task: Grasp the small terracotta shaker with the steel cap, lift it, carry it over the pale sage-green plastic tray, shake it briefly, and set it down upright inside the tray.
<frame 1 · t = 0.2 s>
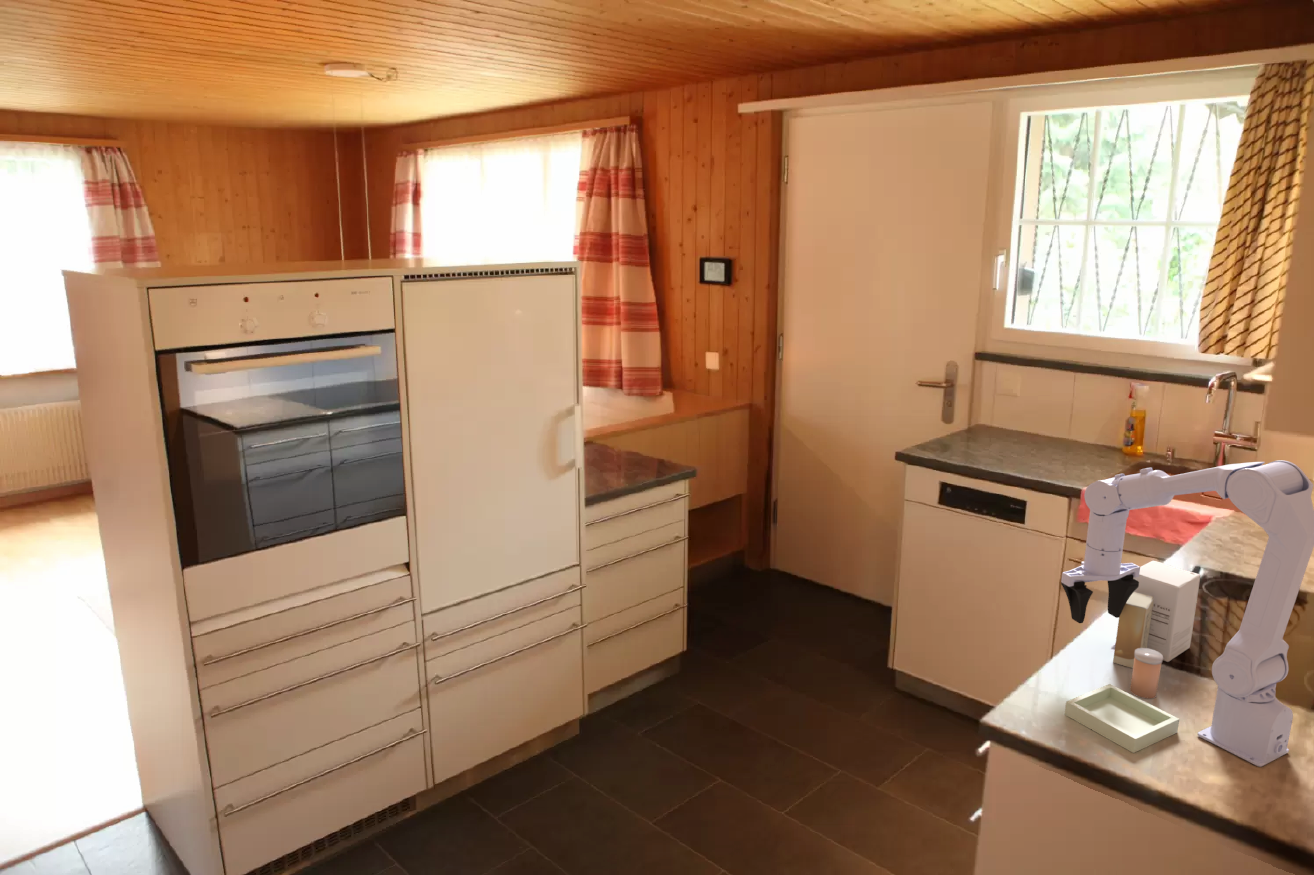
hand: (1095, 617, 157), 10 cm above the worktop, tool pointing down, fingers open, 7 cm apart
skincare box: (1128, 661, 162), on the worktop
supplement box: (1154, 647, 167), on the worktop
shaker: (1143, 692, 151), on the worktop
tray: (1120, 723, 143), on the worktop
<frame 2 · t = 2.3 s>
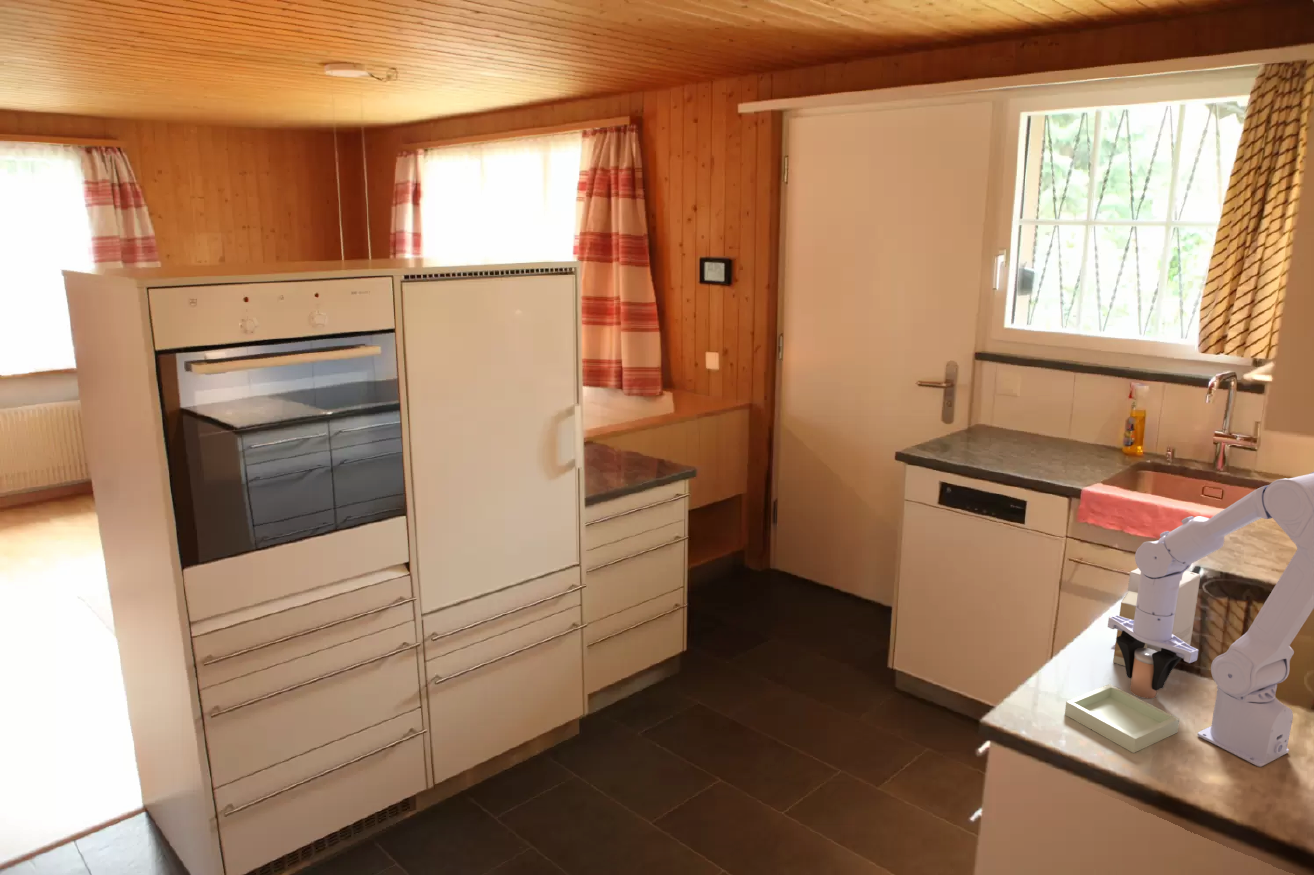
hand: (1144, 682, 151), 2 cm above the worktop, tool pointing down, fingers closed on shaker, 4 cm apart
shaker: (1143, 692, 151), on the worktop, touching gripper
everything else where it was.
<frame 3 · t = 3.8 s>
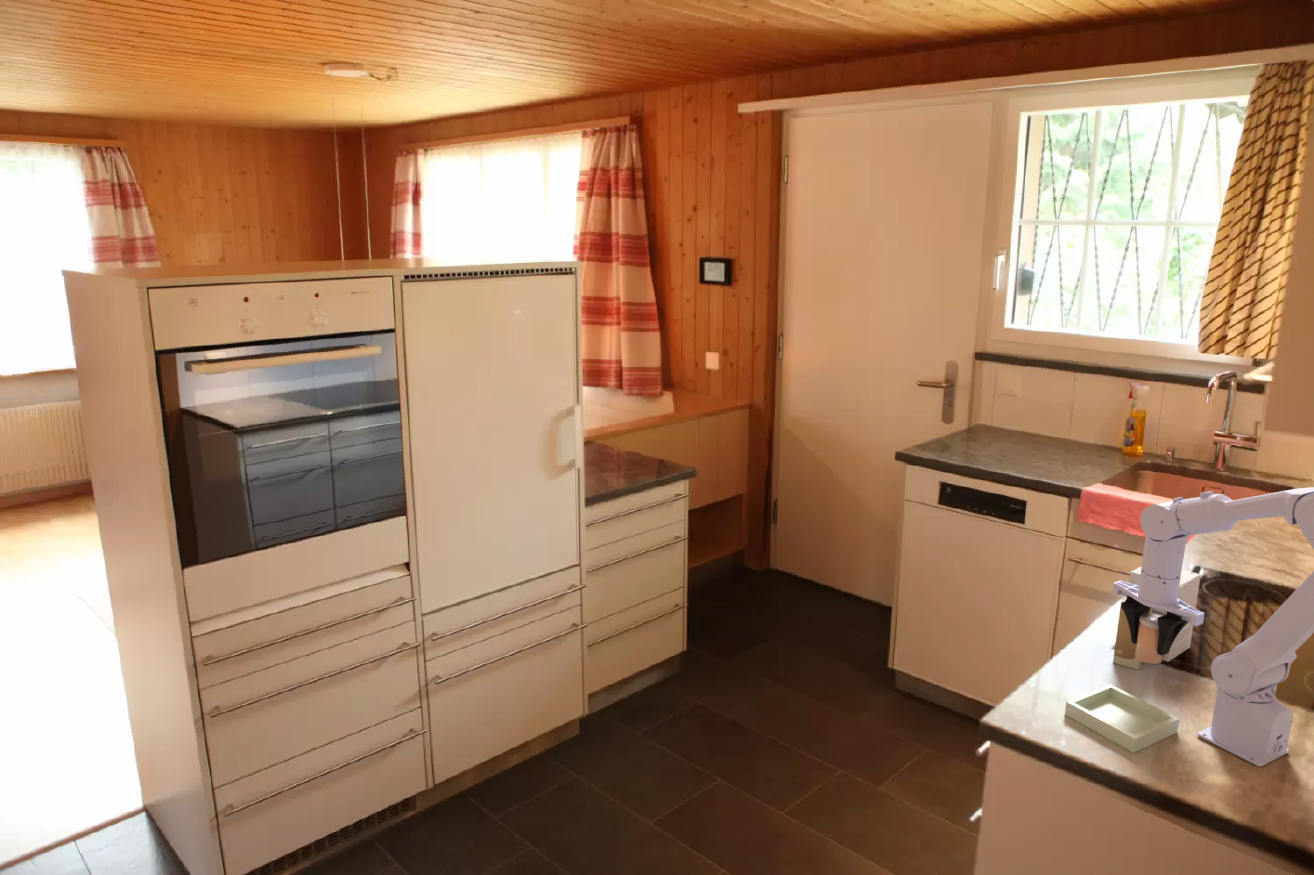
hand: (1149, 647, 149), 8 cm above the worktop, tool pointing down, fingers closed on shaker, 4 cm apart
shaker: (1148, 658, 150), point 6 cm above the worktop, touching gripper
everything else where it was.
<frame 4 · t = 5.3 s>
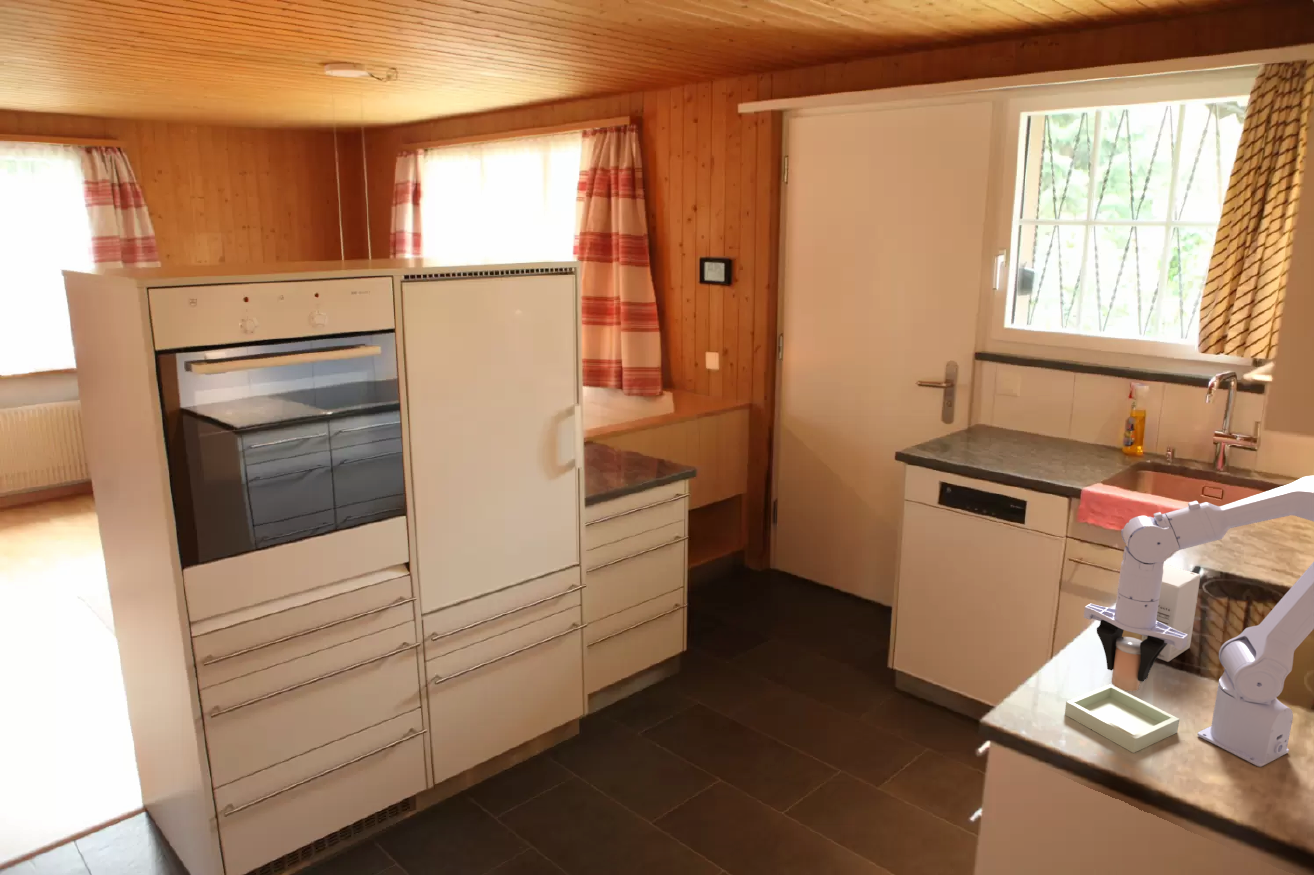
hand: (1127, 673, 140), 9 cm above the worktop, tool pointing down, fingers closed on shaker, 4 cm apart
shaker: (1125, 684, 141), point 7 cm above the worktop, touching gripper
everything else where it was.
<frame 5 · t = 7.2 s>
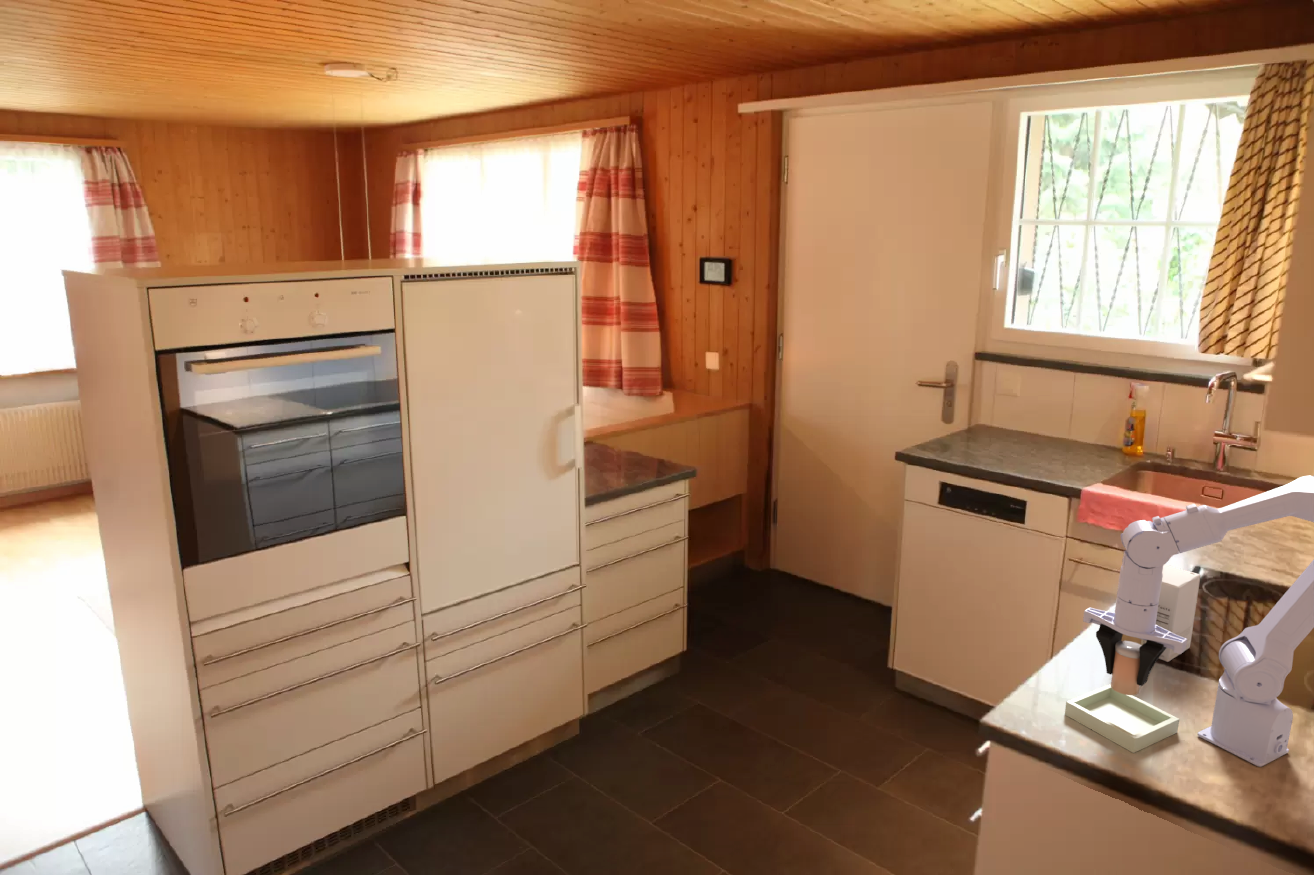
hand: (1126, 677, 140), 8 cm above the worktop, tool pointing down, fingers closed on shaker, 4 cm apart
shaker: (1124, 688, 141), point 6 cm above the worktop, touching gripper
everything else where it was.
when the fingers open (4 cm above the worktop, at t = 8.6 s): shaker stays where it is, resting on tray.
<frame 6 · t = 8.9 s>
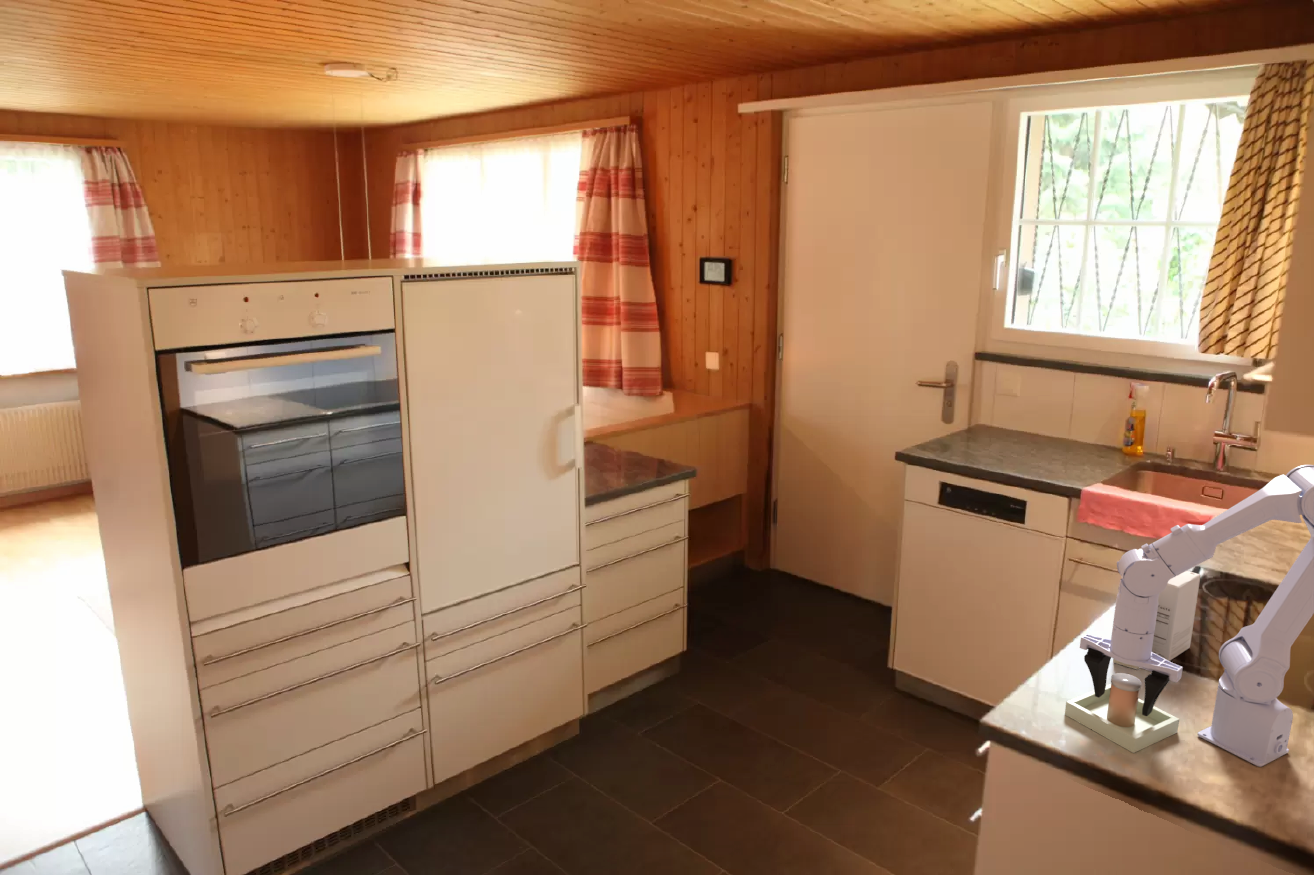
hand: (1122, 703, 142), 4 cm above the worktop, tool pointing down, fingers open, 7 cm apart
shaker: (1120, 720, 142), point 1 cm above the worktop, touching tray
everything else where it was.
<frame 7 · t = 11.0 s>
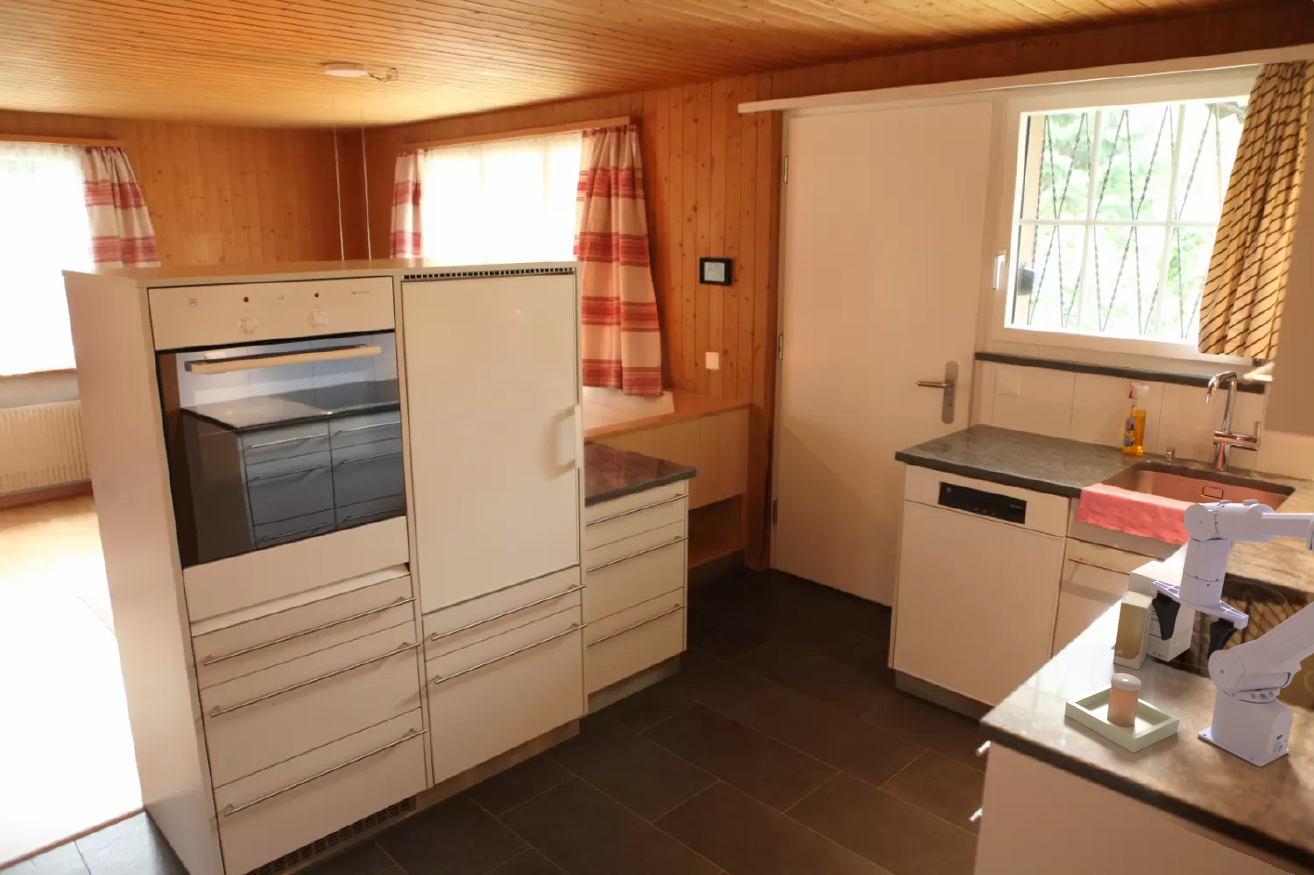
hand: (1188, 648, 147), 9 cm above the worktop, tool pointing down, fingers open, 7 cm apart
nothing on the worktop moved.
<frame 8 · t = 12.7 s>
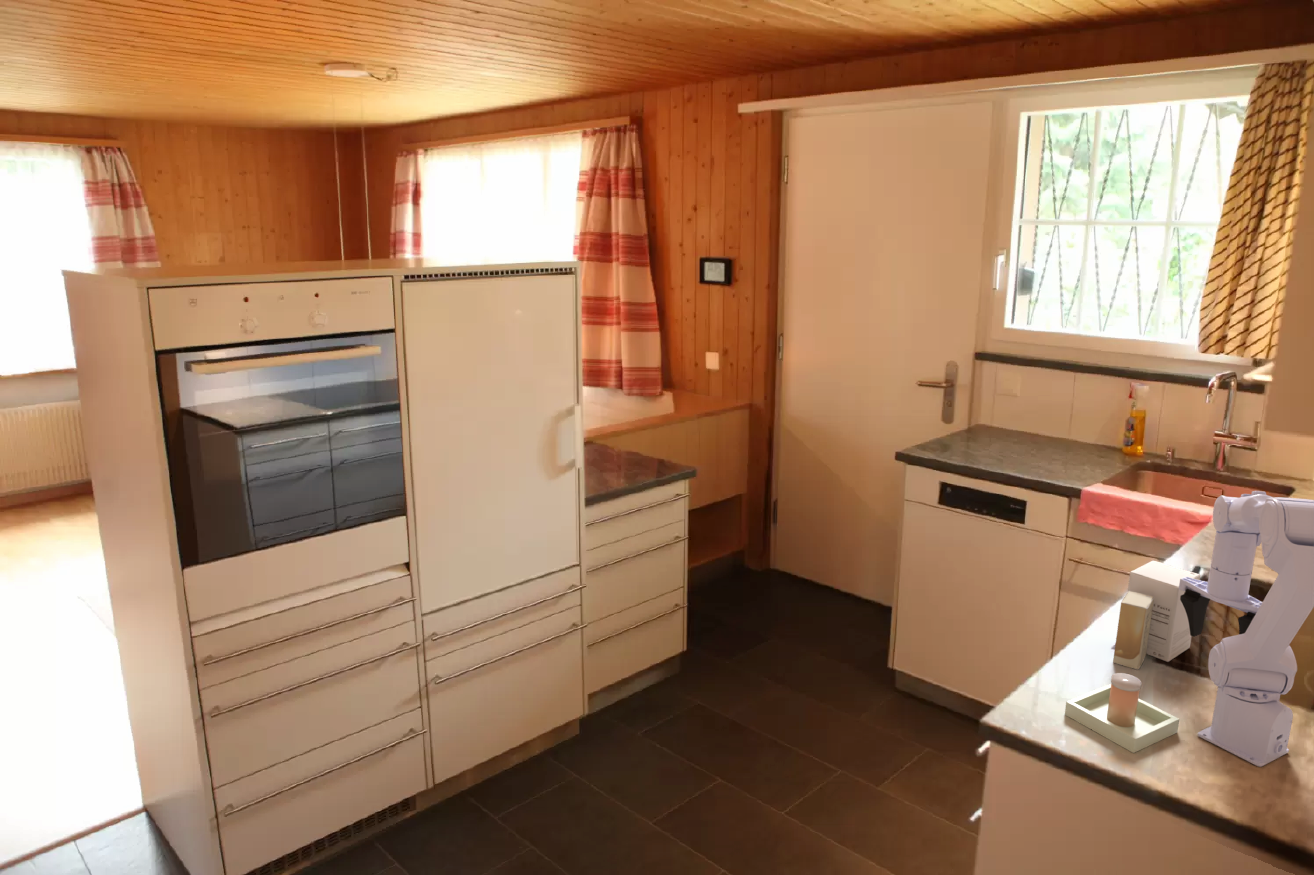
hand: (1218, 644, 148), 9 cm above the worktop, tool pointing down, fingers open, 7 cm apart
nothing on the worktop moved.
at the end: shaker inside the target area on the tray (0.0 cm from its centre), point 0.6 cm above the tray's base; shaker tilted 0°; the gripper is holding nothing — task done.
